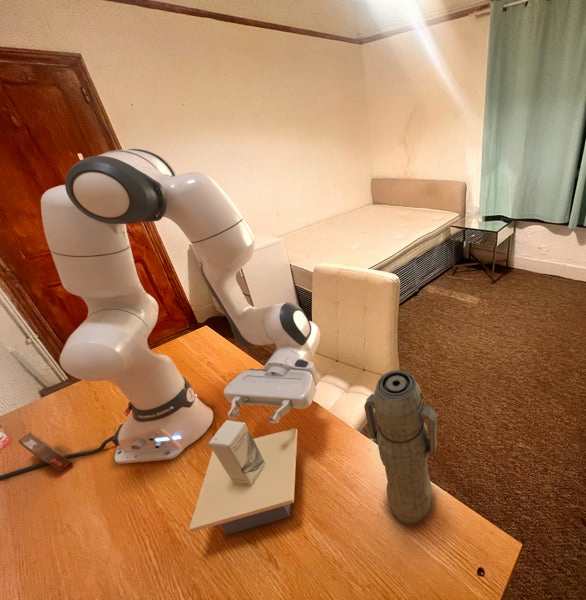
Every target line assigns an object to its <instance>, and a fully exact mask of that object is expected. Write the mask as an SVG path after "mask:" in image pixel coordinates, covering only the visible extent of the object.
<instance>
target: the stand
mask: <svg viewBox="0 0 586 600" xmlns="http://www.w3.org/2000/svg"><path fill="white" fill-rule="evenodd" d="M253 439H254V441H255V443H256V445H257V447H258V449H259V451H260V453H261V455H262V457H263V459H264V461H265V463H264V465H263V467H262V469H261V470H260V472H259V474H258V475H257V477H256V479H255V480H254V482H253V483H252V485H244V484H238V483H233V482H232V480H231V479H230V477H229V475H228V474H227V472H226V471H225V469H224V467H223V466H222V464H221V463H220V461H219V459H218V458H217V456H216V455H215V453H214V451H213V450H212V452H211V455H210V458H209V462H208V465H207V468H206V472H205V474H204V478H203V481H202V485H201V488H200V492H199V494H198V498H197V501H196V505H195V508H194V511H193V515H192V518H191V521H190V525H189V528H188V531H190V532H191V533H194V532H198V531H201V530H203V529H204V530H205V529H207V528H211V527H215V526H219V525H220V526H221V528H223V530H224V531H225V533H226V534H227V535H231V534H235V533H238V532H242V531H246V530H248V529H251V528H255V527H258V526H262V525H265V524H268V523H272V522H275V521H279V520H282V519H285V518H289V517H290V516H291V504H294V503H295V490H296V489H295V487H296V467H297V451H298V450H297V447H298V429H297V427H295V428H291V429H287V430H282V431H279V432H275V433H271V434H267V435H263V436H259V437H255V438H253Z"/></svg>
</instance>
